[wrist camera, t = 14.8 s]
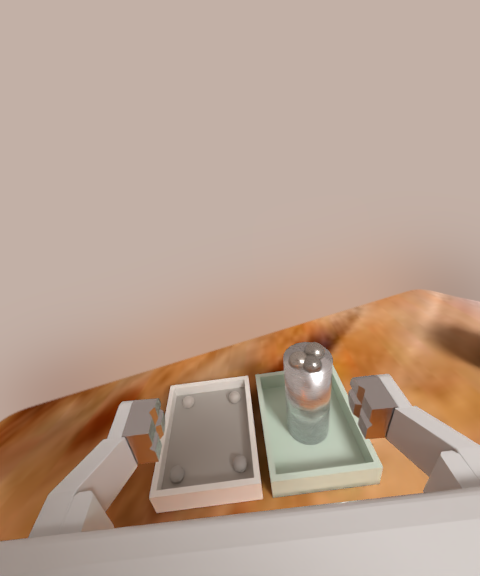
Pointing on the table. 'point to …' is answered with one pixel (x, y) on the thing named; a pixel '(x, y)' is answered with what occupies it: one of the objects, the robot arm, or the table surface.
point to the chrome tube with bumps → (308, 391)
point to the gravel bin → (207, 447)
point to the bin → (314, 458)
